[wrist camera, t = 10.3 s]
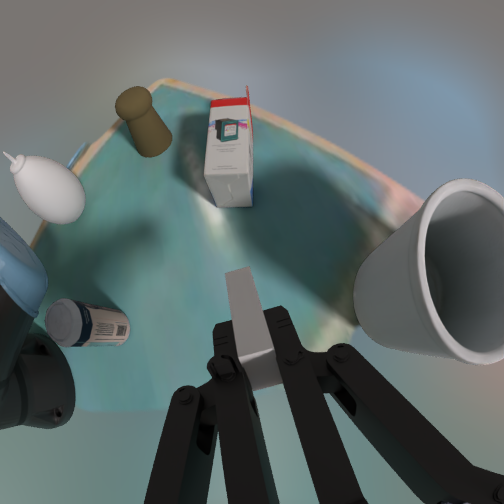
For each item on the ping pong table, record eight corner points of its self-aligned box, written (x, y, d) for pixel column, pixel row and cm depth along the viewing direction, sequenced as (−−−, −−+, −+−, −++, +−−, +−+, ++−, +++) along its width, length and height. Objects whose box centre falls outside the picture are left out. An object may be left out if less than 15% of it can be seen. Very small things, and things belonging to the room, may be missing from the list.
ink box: (216, 209, 36) (221, 125, 40) (254, 207, 36) (253, 123, 40) (201, 174, 28) (212, 85, 32) (249, 171, 28) (249, 82, 32)
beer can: (119, 302, 33) (62, 286, 22) (138, 332, 32) (83, 329, 21) (96, 323, 33) (36, 314, 21) (113, 352, 32) (55, 356, 20)
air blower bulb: (104, 193, 38) (35, 124, 21) (82, 240, 36) (-2, 187, 19) (73, 184, 39) (8, 123, 22) (53, 226, 37) (-23, 177, 20)
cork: (175, 149, 39) (151, 99, 29) (138, 162, 39) (108, 117, 29) (169, 123, 41) (149, 74, 30) (136, 135, 41) (109, 91, 30)
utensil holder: (416, 373, 29) (511, 389, 12) (324, 321, 32) (384, 310, 15) (455, 275, 32) (542, 237, 15) (375, 221, 35) (440, 145, 18)
